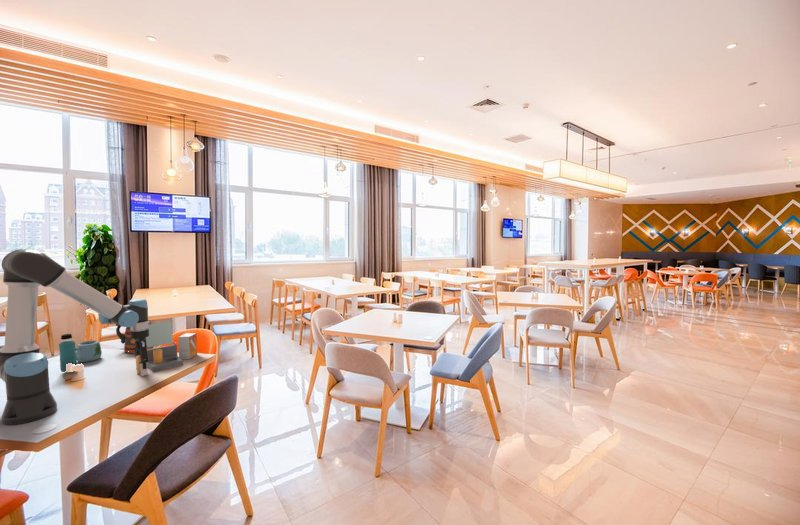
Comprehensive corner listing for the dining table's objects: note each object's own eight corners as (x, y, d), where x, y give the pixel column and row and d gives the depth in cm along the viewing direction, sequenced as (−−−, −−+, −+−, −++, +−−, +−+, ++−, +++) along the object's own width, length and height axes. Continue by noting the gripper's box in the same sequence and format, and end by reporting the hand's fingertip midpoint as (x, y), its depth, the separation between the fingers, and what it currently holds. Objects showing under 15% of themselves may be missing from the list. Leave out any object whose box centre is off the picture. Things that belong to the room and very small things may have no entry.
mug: (84, 366, 194) (82, 347, 193) (63, 365, 194) (62, 347, 193) (107, 356, 208) (106, 339, 208) (88, 356, 209) (87, 339, 208)
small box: (190, 359, 204) (189, 336, 203) (178, 359, 204) (177, 336, 203) (197, 354, 212) (196, 332, 211) (186, 354, 212) (185, 332, 211)
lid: (144, 324, 196) (144, 325, 196) (147, 347, 195) (147, 347, 195) (170, 321, 205) (170, 321, 205) (173, 342, 204) (173, 342, 204)
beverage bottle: (67, 375, 180) (64, 336, 179) (56, 374, 182) (54, 335, 180) (81, 370, 187) (78, 333, 185) (71, 369, 188) (68, 332, 187)
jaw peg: (138, 375, 181) (137, 357, 181) (136, 372, 184) (135, 355, 183) (147, 372, 184) (146, 355, 183) (145, 370, 187) (145, 353, 186)
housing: (151, 371, 185) (150, 353, 185) (145, 365, 195) (144, 347, 194) (183, 364, 196) (183, 347, 195) (176, 358, 206) (175, 341, 205)
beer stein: (111, 355, 211) (108, 321, 209) (122, 347, 224) (120, 316, 223) (148, 352, 216) (146, 319, 215) (157, 345, 230) (155, 314, 229)
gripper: (154, 332, 177) (156, 376, 179) (143, 324, 193) (145, 364, 195) (135, 335, 172) (137, 380, 173) (126, 326, 188) (128, 368, 189)
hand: (142, 372), depth 184 cm, fingers open, 10 cm apart
